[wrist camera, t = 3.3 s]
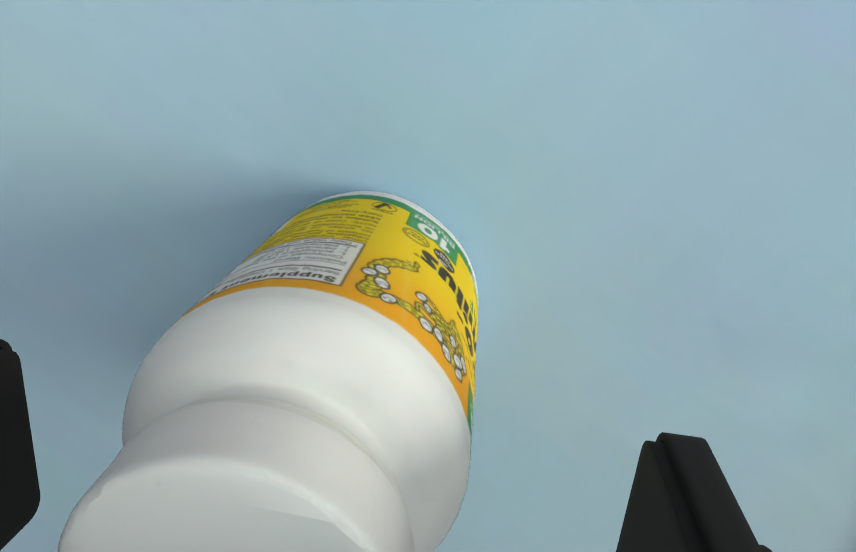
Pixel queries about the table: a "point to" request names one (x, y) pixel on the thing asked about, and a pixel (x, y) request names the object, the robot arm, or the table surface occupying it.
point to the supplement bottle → (304, 398)
